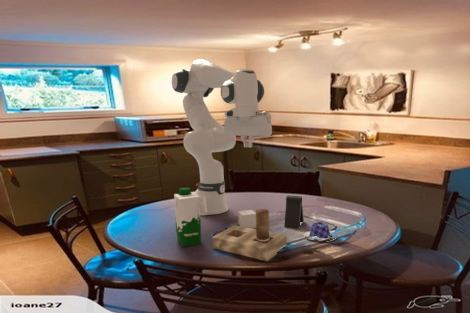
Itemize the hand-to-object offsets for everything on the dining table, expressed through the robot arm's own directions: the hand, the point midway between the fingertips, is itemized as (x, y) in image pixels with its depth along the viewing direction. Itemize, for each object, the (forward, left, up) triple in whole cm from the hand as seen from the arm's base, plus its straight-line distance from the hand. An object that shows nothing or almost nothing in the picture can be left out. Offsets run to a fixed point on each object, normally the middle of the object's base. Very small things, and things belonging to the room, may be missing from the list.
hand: (248, 147), depth 140 cm
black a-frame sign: (+14, +12, -33) cm, 38 cm away
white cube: (-2, +1, -33) cm, 33 cm away
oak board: (+10, -17, -33) cm, 38 cm away
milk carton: (-12, -24, -33) cm, 43 cm away
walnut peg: (+15, -17, -33) cm, 40 cm away
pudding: (+28, +4, -34) cm, 44 cm away
